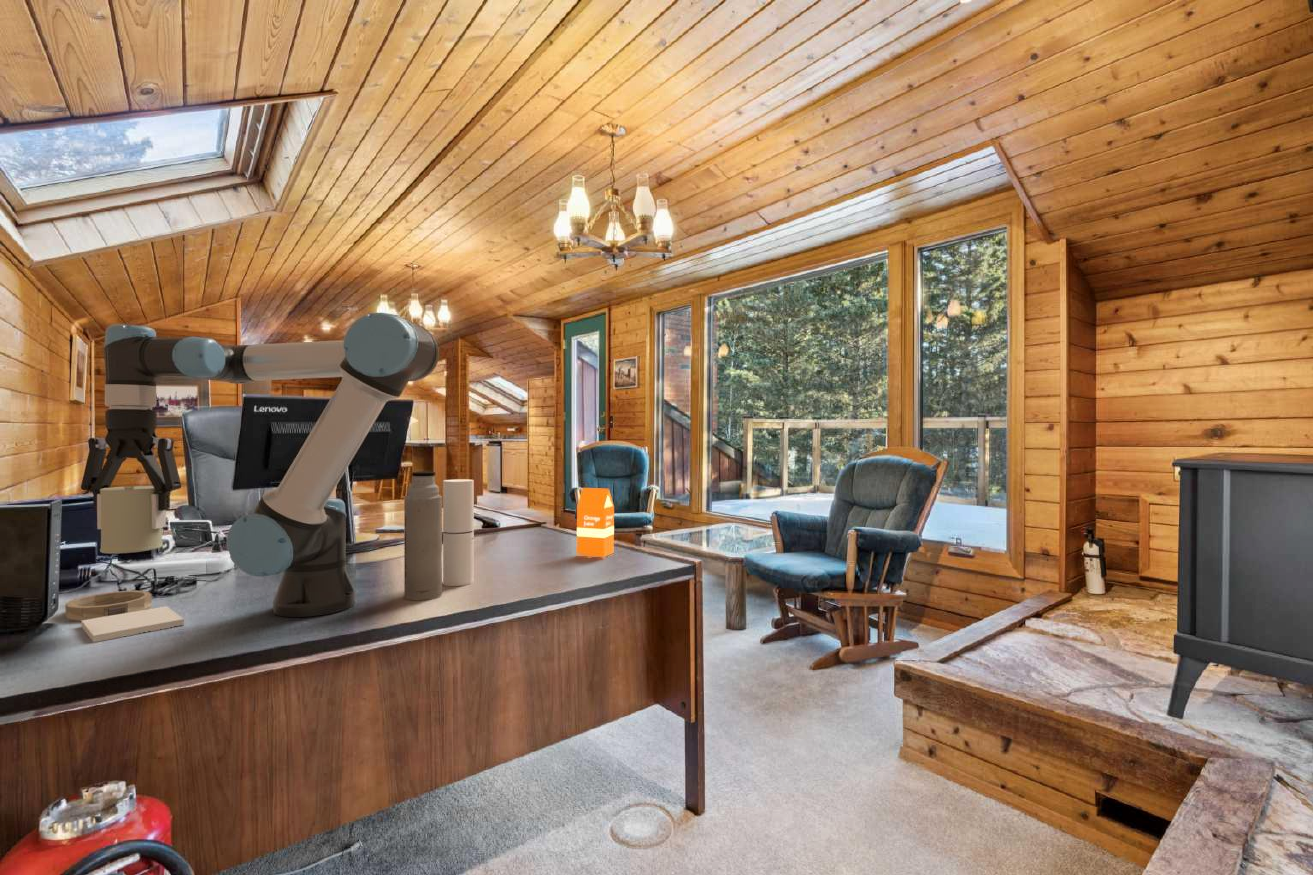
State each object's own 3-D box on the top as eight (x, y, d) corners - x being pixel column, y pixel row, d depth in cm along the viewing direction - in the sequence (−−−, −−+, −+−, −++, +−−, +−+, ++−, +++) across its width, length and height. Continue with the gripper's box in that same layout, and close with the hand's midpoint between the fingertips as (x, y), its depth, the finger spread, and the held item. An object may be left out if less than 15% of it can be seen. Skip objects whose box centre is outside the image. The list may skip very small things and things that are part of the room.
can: (95, 555, 114) (95, 488, 114) (104, 547, 122) (103, 484, 122) (160, 550, 120) (160, 486, 119) (165, 542, 127) (164, 482, 127)
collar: (158, 611, 131) (158, 599, 131) (72, 626, 121) (72, 612, 121) (141, 597, 141) (141, 586, 141) (61, 610, 131) (61, 598, 131)
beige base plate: (183, 625, 122) (183, 618, 122) (93, 642, 112) (93, 635, 112) (166, 612, 130) (166, 606, 130) (81, 626, 120) (81, 620, 120)
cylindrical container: (436, 584, 155) (436, 481, 154) (456, 577, 161) (456, 478, 161) (460, 587, 152) (460, 482, 151) (479, 580, 158) (479, 479, 158)
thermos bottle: (399, 600, 140) (399, 472, 139) (410, 591, 148) (410, 470, 147) (436, 600, 141) (437, 472, 140) (445, 590, 148) (445, 470, 148)
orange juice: (587, 551, 196) (587, 486, 196) (614, 553, 193) (614, 487, 193) (576, 556, 189) (576, 488, 189) (603, 558, 186) (604, 489, 186)
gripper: (204, 409, 125) (204, 524, 125) (86, 408, 123) (87, 525, 124) (178, 408, 117) (178, 530, 118) (52, 407, 116) (53, 531, 116)
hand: (132, 527), depth 121 cm, fingers closed on can, 9 cm apart
